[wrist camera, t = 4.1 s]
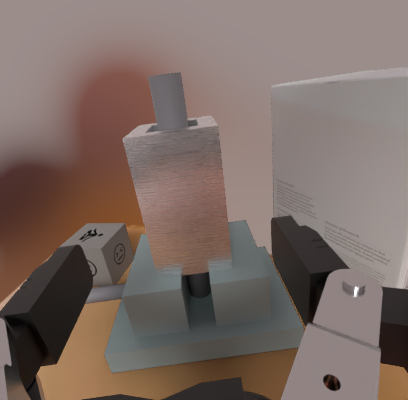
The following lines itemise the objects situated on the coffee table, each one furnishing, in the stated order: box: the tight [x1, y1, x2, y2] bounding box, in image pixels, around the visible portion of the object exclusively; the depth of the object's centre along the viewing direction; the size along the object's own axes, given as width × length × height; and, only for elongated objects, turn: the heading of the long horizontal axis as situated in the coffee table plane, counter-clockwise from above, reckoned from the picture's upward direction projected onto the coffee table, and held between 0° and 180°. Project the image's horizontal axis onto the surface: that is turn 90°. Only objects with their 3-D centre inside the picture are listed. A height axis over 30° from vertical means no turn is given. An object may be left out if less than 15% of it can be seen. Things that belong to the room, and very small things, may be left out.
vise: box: [85, 73, 304, 373], centre depth 20 cm, size 21×10×19 cm, turn 93°
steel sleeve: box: [123, 116, 233, 279], centre depth 19 cm, size 5×5×10 cm
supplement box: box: [271, 67, 408, 289], centre depth 24 cm, size 13×13×18 cm
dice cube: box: [60, 223, 134, 287], centre depth 29 cm, size 5×5×5 cm
